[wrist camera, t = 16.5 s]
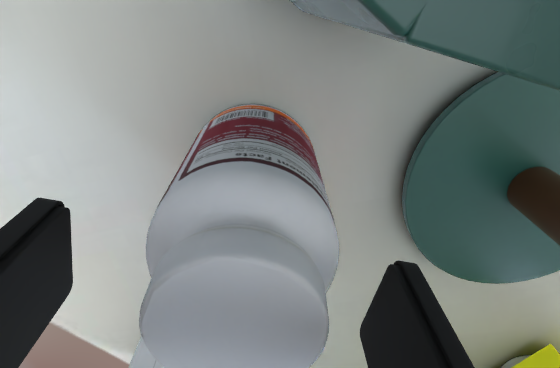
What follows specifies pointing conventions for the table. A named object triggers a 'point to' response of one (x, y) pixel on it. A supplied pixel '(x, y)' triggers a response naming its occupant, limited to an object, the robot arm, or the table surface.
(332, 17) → the tin
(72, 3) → the table surface
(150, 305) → the pill bottle
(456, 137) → the tin lid
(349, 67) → the table surface
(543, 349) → the yellow toy chassis
